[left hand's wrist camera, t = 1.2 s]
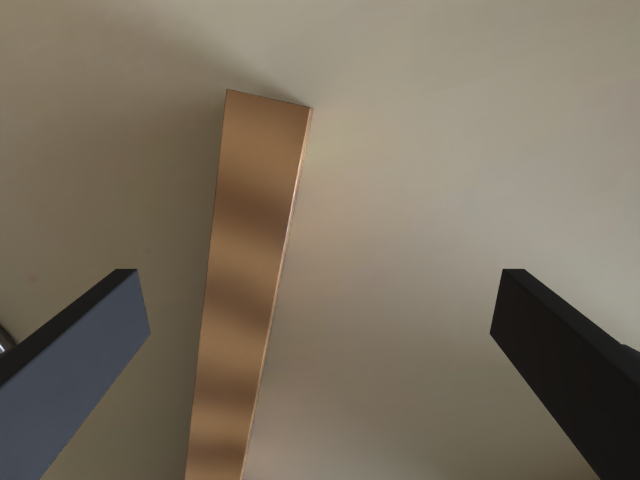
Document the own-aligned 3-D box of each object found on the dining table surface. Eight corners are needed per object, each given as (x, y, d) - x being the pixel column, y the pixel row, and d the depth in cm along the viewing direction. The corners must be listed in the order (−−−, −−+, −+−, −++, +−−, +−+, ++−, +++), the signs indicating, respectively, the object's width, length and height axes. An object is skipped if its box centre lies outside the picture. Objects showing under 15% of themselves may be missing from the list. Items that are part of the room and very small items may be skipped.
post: (254, 95, 26) (226, 88, 19) (313, 108, 27) (310, 107, 19) (186, 602, 50) (161, 692, 42) (218, 606, 50) (199, 696, 43)
